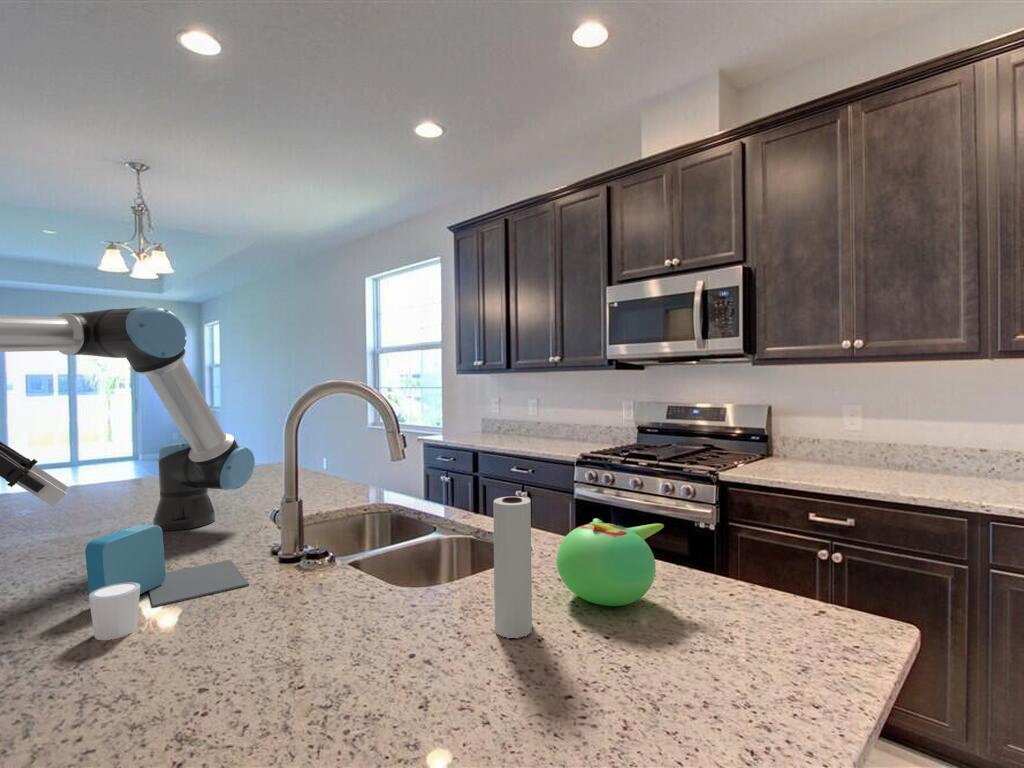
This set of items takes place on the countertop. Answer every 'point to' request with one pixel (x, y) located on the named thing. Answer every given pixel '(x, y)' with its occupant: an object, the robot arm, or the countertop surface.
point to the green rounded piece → (608, 562)
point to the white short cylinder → (115, 610)
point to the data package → (127, 558)
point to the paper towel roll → (512, 566)
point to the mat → (197, 582)
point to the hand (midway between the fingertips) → (60, 496)
